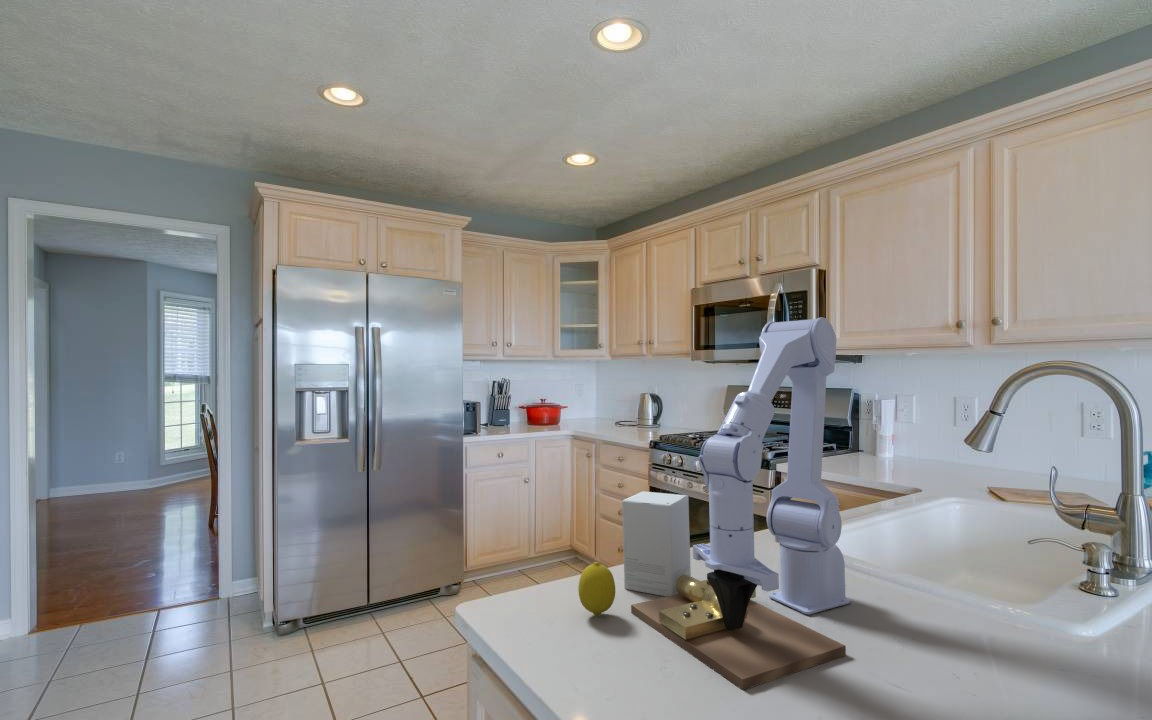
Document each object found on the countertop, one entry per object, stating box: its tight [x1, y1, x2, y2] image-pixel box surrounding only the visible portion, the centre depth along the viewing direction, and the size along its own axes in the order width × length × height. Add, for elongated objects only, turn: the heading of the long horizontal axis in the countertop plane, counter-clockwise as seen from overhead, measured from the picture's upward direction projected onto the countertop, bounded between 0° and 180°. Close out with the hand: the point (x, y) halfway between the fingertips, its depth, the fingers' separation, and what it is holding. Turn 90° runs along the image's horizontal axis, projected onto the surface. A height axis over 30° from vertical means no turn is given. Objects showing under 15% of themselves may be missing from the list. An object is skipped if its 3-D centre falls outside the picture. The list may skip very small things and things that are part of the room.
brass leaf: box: [659, 587, 748, 640], centre depth 80 cm, size 11×6×3 cm, turn 116°
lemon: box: [577, 561, 616, 617], centre depth 86 cm, size 6×6×8 cm
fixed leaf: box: [676, 574, 757, 602], centre depth 89 cm, size 11×7×3 cm
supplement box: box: [621, 490, 692, 597], centre depth 98 cm, size 9×9×15 cm
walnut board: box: [630, 593, 847, 691], centre depth 80 cm, size 17×24×1 cm
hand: (733, 627), depth 77 cm, fingers closed
